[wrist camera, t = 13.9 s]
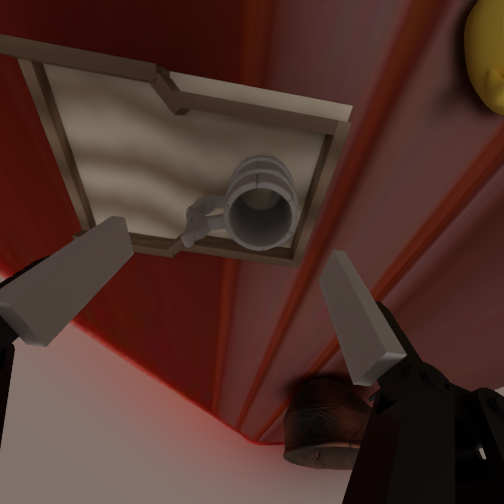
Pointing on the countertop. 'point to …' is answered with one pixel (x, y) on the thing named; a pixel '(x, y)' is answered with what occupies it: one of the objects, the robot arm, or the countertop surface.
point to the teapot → (486, 52)
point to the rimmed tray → (174, 145)
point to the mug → (244, 217)
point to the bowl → (325, 425)
